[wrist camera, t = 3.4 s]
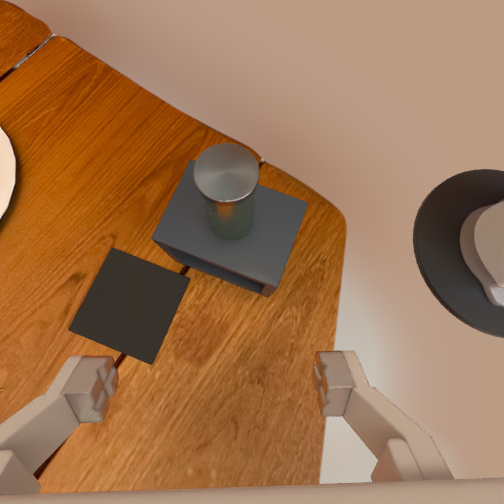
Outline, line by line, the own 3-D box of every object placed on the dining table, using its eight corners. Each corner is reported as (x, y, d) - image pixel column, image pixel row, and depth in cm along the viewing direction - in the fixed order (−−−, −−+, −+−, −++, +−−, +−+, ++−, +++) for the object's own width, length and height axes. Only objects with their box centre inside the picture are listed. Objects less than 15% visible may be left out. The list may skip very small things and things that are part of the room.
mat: (190, 278, 40) (190, 278, 39) (152, 364, 37) (151, 365, 36) (112, 248, 40) (111, 247, 40) (69, 329, 38) (67, 329, 37)
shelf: (291, 233, 42) (308, 202, 31) (268, 297, 39) (277, 287, 29) (203, 200, 43) (190, 159, 32) (175, 261, 40) (151, 238, 30)
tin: (260, 208, 31) (268, 155, 21) (244, 248, 30) (245, 211, 20) (219, 193, 31) (208, 133, 21) (201, 232, 30) (182, 188, 20)
